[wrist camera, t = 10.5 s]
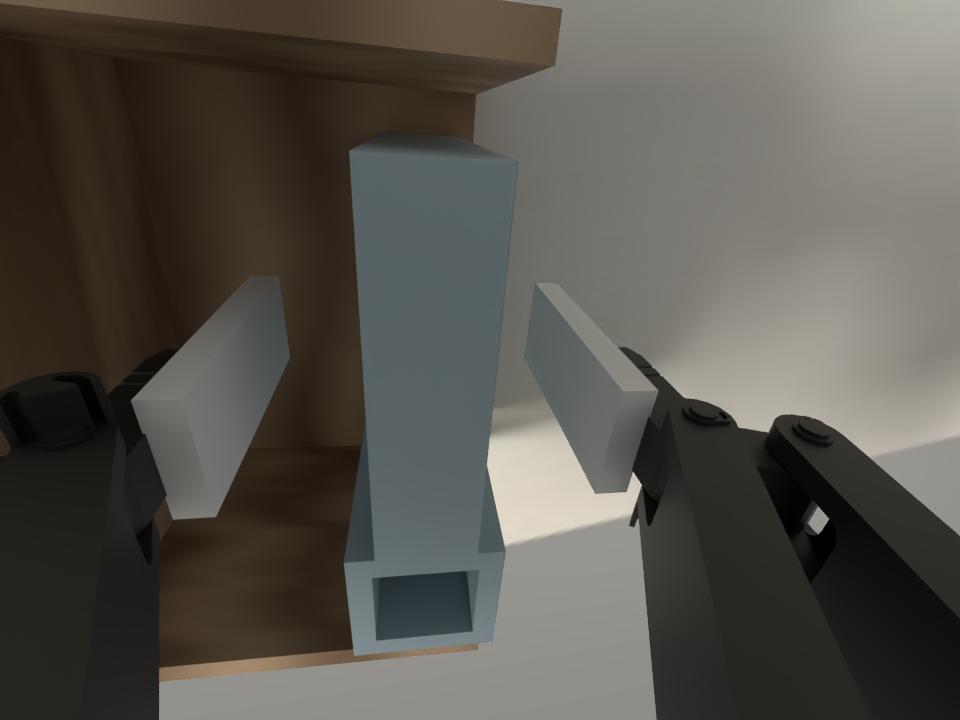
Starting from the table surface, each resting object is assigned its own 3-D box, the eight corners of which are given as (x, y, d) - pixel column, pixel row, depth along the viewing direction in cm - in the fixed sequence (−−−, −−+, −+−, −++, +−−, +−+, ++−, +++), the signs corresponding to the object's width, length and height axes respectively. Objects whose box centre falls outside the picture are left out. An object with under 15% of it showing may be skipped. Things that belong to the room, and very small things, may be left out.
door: (378, 424, 24) (354, 655, 14) (365, 129, 17) (296, 147, 7) (461, 422, 25) (498, 641, 14) (480, 138, 18) (573, 166, 8)
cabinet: (201, 449, 25) (47, 692, 14) (84, 30, 16) (-565, -141, 5) (451, 442, 27) (477, 649, 16) (474, 72, 18) (561, 8, 7)
